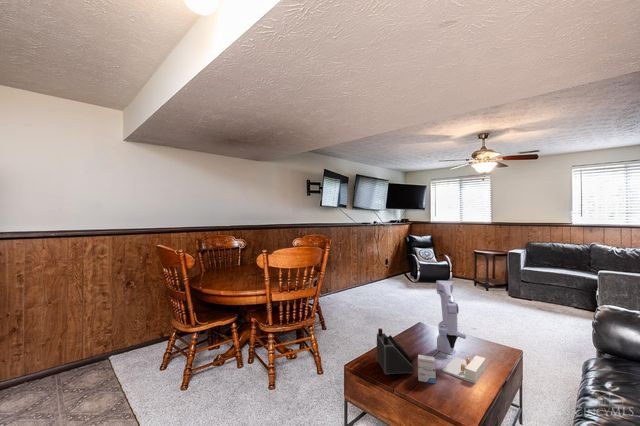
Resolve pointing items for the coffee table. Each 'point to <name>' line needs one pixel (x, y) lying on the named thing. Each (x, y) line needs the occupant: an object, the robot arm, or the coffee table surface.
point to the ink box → (426, 369)
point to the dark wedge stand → (392, 355)
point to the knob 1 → (463, 367)
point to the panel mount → (467, 368)
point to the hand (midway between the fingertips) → (452, 347)
